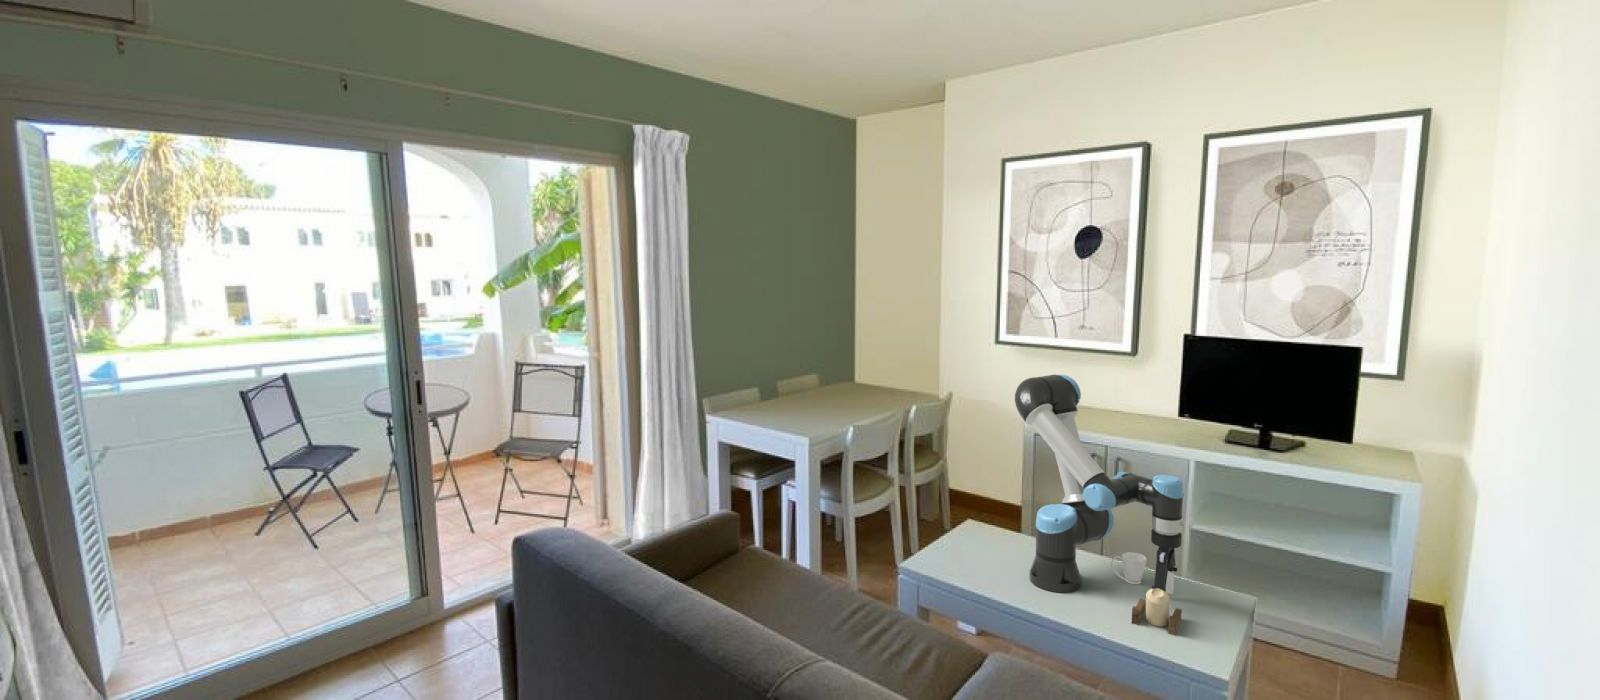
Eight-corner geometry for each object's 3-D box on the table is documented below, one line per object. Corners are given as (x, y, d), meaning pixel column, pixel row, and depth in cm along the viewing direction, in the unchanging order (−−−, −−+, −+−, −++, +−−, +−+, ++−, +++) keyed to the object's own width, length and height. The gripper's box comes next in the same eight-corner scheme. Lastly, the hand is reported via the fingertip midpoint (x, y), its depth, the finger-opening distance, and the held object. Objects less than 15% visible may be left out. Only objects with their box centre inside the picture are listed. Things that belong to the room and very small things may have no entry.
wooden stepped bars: (1131, 623, 183) (1132, 608, 183) (1139, 608, 191) (1140, 593, 191) (1174, 635, 177) (1175, 619, 177) (1181, 619, 185) (1181, 604, 184)
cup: (1144, 588, 203) (1145, 563, 202) (1108, 580, 208) (1109, 556, 208) (1147, 579, 209) (1148, 554, 208) (1112, 572, 214) (1113, 548, 213)
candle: (1171, 626, 181) (1172, 600, 176) (1149, 626, 182) (1149, 600, 178) (1165, 610, 185) (1165, 584, 181) (1143, 610, 187) (1143, 584, 182)
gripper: (1174, 548, 176) (1171, 624, 179) (1188, 519, 196) (1185, 588, 199) (1143, 542, 181) (1140, 616, 183) (1159, 514, 201) (1157, 581, 203)
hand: (1164, 602), depth 191 cm, fingers open, 13 cm apart
